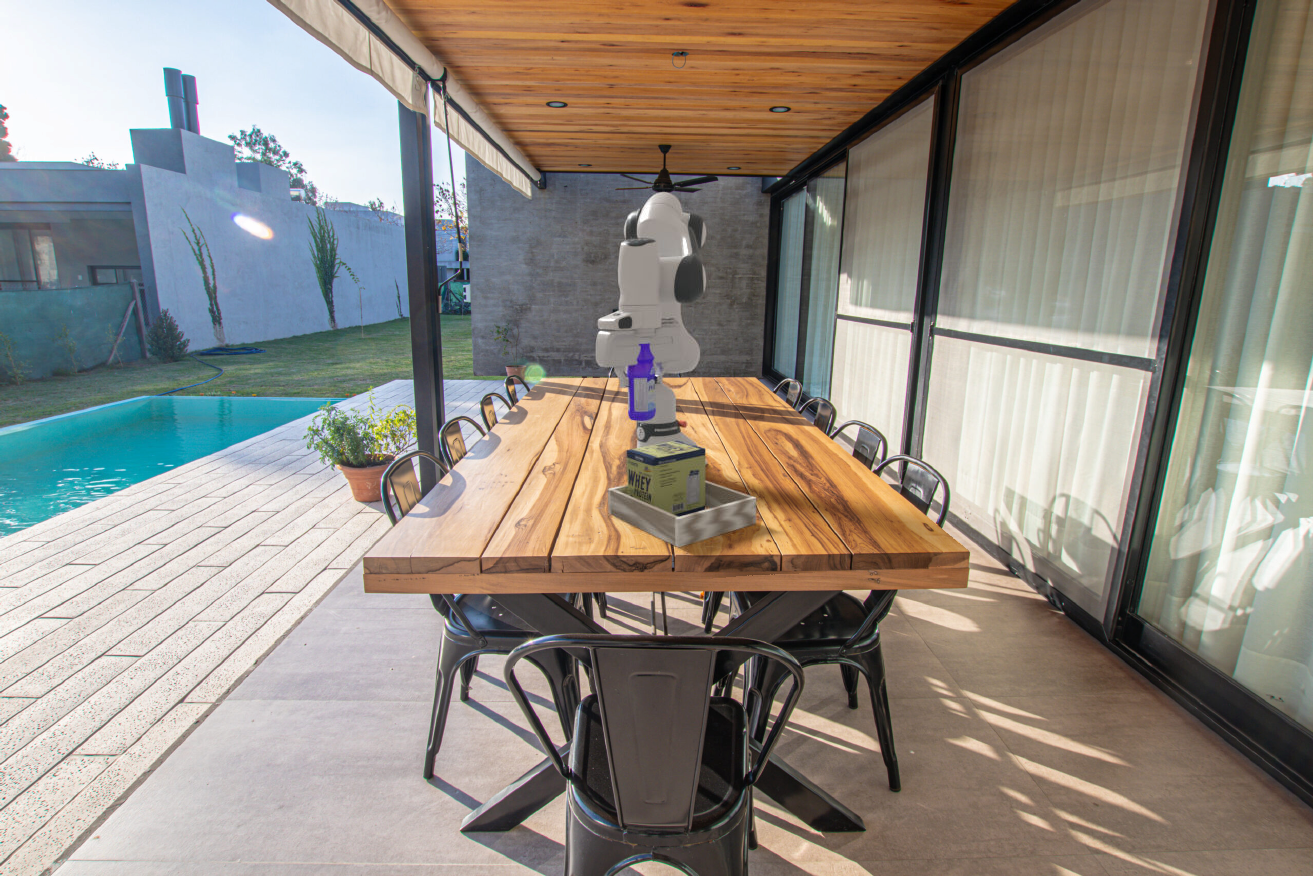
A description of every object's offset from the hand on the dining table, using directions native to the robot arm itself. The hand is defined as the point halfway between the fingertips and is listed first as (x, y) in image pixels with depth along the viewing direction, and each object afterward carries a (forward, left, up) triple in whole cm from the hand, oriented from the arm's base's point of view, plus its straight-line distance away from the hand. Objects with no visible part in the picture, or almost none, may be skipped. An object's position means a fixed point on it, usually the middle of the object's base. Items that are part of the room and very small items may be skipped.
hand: (641, 385), depth 136 cm
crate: (-8, +3, -31) cm, 32 cm away
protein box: (-8, -2, -31) cm, 33 cm away
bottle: (0, 0, -7) cm, 7 cm away
